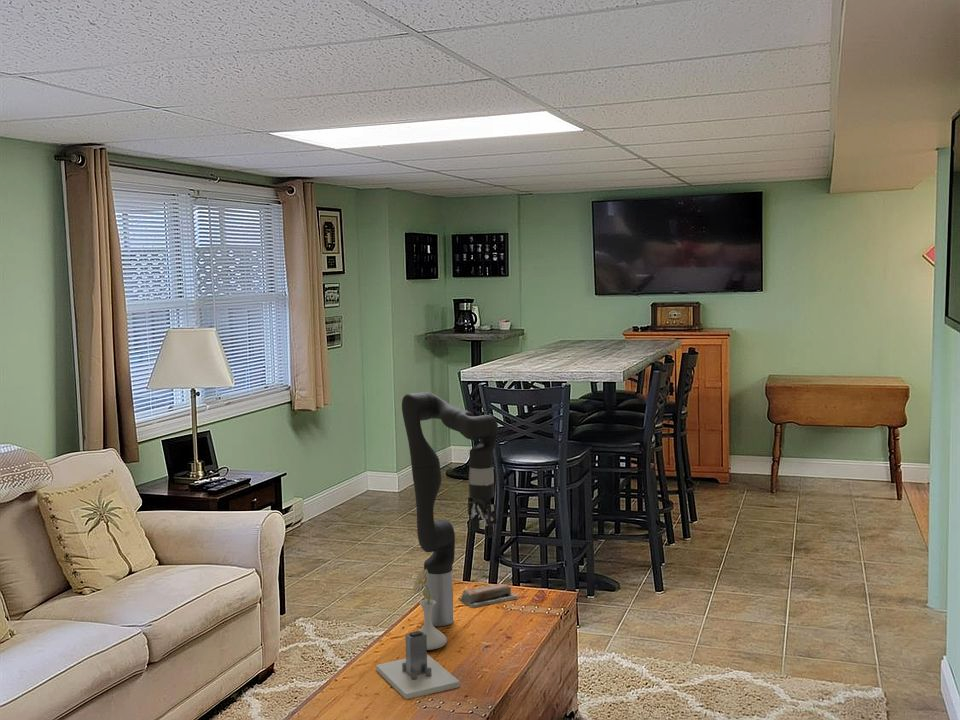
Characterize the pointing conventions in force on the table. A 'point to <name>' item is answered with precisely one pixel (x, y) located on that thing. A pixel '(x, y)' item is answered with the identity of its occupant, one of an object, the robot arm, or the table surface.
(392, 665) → the tray
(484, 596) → the packaged product
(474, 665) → the table surface
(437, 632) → the flower in vase
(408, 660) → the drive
